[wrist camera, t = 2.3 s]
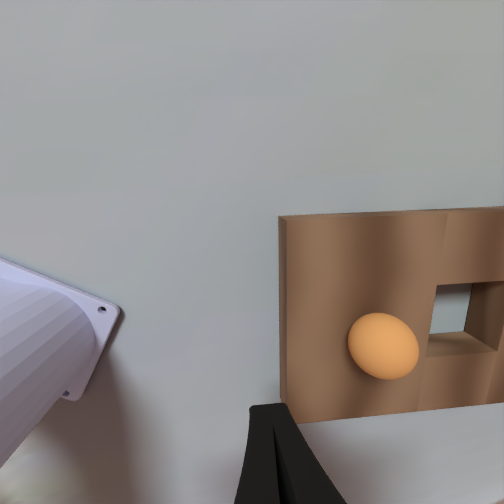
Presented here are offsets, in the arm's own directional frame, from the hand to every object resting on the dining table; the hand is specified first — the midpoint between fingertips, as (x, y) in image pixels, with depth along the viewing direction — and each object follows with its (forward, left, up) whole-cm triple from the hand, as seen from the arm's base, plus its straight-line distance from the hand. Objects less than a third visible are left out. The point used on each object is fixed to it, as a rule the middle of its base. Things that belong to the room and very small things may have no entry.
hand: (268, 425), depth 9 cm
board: (+9, +5, -8) cm, 13 cm away
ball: (+6, +3, -4) cm, 8 cm away
